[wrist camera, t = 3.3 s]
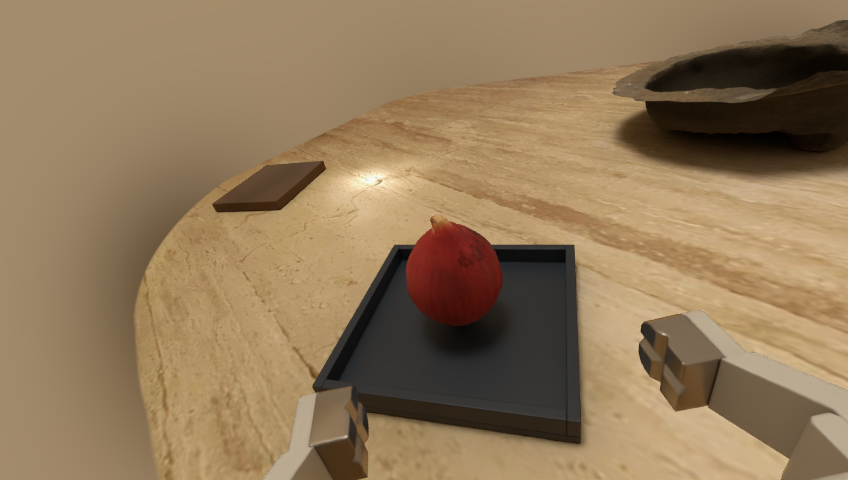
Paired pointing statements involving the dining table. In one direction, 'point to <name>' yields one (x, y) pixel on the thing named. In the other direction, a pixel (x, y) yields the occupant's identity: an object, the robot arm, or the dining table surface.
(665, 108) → the stone bowl
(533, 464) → the dining table surface
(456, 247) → the onion
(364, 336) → the tray
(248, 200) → the board
